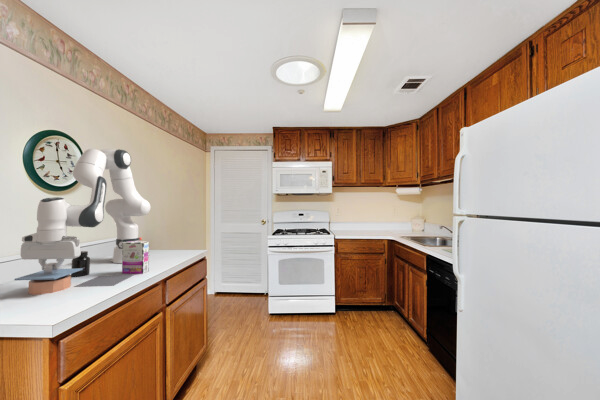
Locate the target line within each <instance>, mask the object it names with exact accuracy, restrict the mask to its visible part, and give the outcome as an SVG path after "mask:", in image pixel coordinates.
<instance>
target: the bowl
mask: <svg viewBox="0 0 600 400" xmlns="http://www.w3.org/2000/svg"><path fill="white" fill-rule="evenodd" d="M71 286H72V277H71V274H69V275H66V276H63V277H60V278H57V279H52V280H28V290H27V291H28V294H29V295H32V296H35V295H46V294H52V293H56V292H57V293H58V292H61V291H64V290H67V289H69V288H71Z"/></svg>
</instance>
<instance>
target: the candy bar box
mask: <svg viewBox="0 0 600 400" xmlns="http://www.w3.org/2000/svg"><path fill="white" fill-rule="evenodd" d="M149 255H150V241H149V240H148V241H146V240H145V241H142V240H140V241H128V242H123V251H122V263H121V264H122V265H121V268H122V269H121V273H122V275H143V274H146V273H148V272H150V271H149V269H150V268H149V265H150V261H149V260H150V256H149Z"/></svg>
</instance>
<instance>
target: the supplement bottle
mask: <svg viewBox="0 0 600 400" xmlns="http://www.w3.org/2000/svg"><path fill="white" fill-rule="evenodd" d="M88 253H89V252H88V250H87V251H86V250H85V251H84V250H82V251H81V255H80V256H79V257H77V258H74V259H71V265H70V266H71V268H70V269H75V268H83V270H80V271H77V272H75V273H72V274H70V275H71V278H82V277H86V276H89V275H90V272H91V271H90V269H91V268H90V266H91V258H90V256H89V254H88Z"/></svg>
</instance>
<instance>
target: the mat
mask: <svg viewBox="0 0 600 400" xmlns="http://www.w3.org/2000/svg"><path fill="white" fill-rule="evenodd" d="M134 276H135V274H122V275H121V274H118V275H115V274H114V275H98V276H96V277H94V278H91V279H89V280H87V281H84V282H82V283H81V282H80V283H79V284H76V285H74V286H73V288H82V287H83V288H85V287H88V288H89V287H114V286H116V285H117V284H120V283H122V282H123V281H125V280H127V279H130V278H131V277H134Z"/></svg>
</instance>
